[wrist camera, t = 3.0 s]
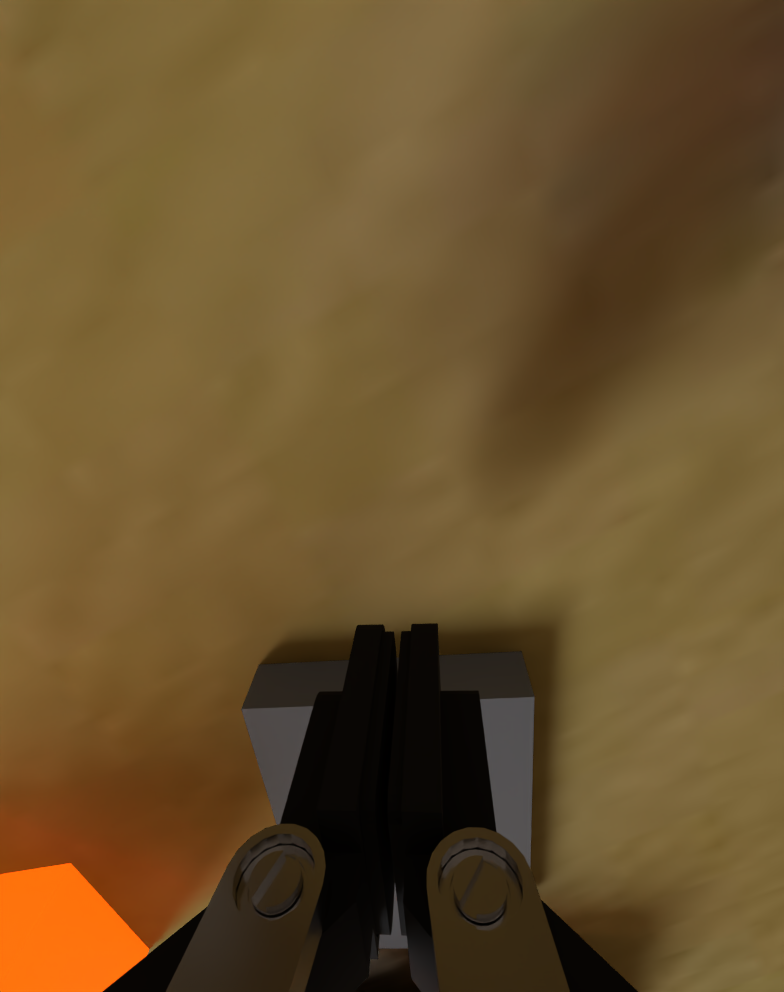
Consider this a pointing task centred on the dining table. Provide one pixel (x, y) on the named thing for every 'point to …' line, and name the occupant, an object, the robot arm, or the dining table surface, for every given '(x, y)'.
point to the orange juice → (61, 934)
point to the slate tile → (497, 676)
